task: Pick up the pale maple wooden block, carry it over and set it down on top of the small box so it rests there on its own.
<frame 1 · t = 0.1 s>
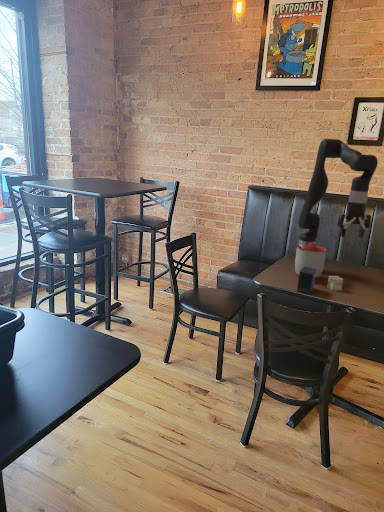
hand: (351, 237, 163), 29 cm above the table, fingers open, 8 cm apart
citrus juicer: (306, 277, 197), on the table
small box: (305, 290, 177), on the table
maple block: (334, 288, 181), on the table
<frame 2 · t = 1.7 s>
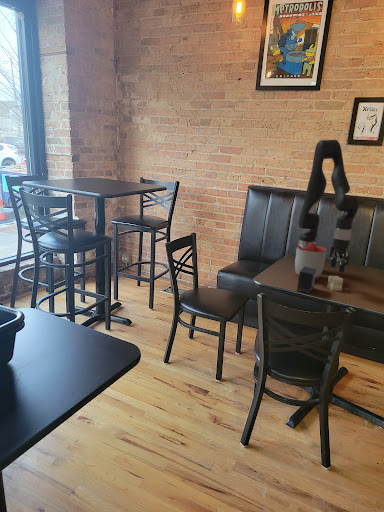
hand: (337, 269, 178), 10 cm above the table, fingers open, 8 cm apart
nothing on the table moved.
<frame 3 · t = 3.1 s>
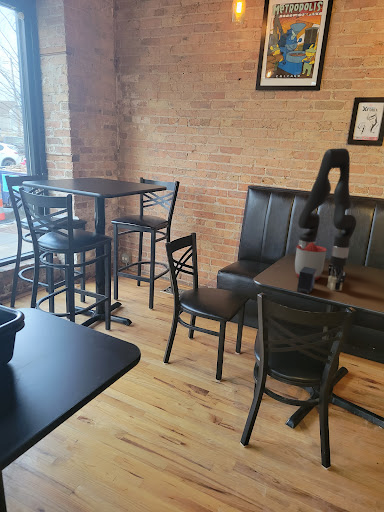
hand: (334, 287, 181), 1 cm above the table, fingers closed on maple block, 5 cm apart
maple block: (334, 288, 181), on the table, touching gripper
everything else where it was.
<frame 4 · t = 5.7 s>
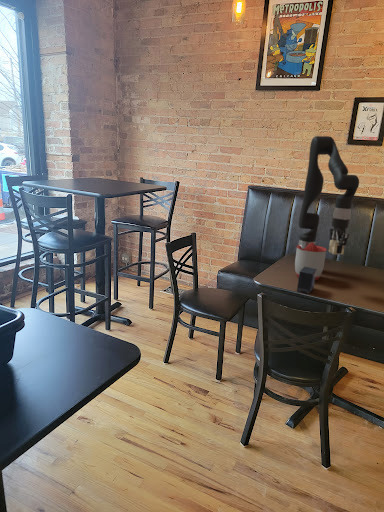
hand: (335, 251, 175), 19 cm above the table, fingers closed on maple block, 5 cm apart
maple block: (335, 253, 175), point 19 cm above the table, touching gripper
everything else where it was.
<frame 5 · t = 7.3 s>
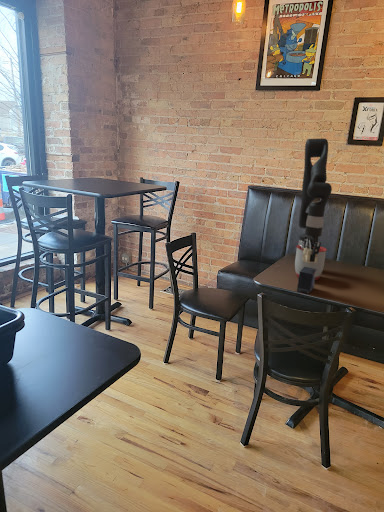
hand: (309, 259, 173), 15 cm above the table, fingers closed on maple block, 5 cm apart
maple block: (309, 261, 173), point 15 cm above the table, touching gripper
everything else where it was.
when the fingers open (12 cm above the table, at t = 8.3 s): maple block stays where it is, resting on small box.
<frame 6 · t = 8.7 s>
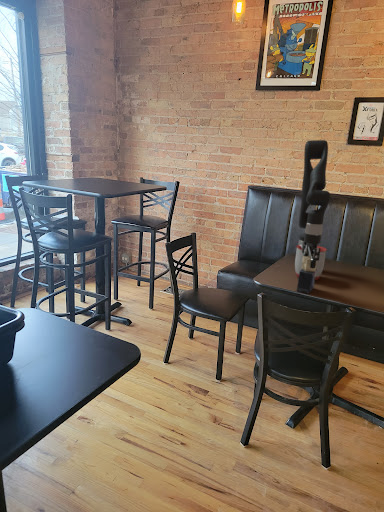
hand: (308, 265, 174), 13 cm above the table, fingers open, 8 cm apart
small box: (305, 290, 177), on the table, touching maple block
maple block: (308, 269, 174), point 10 cm above the table, touching small box
everything else where it was.
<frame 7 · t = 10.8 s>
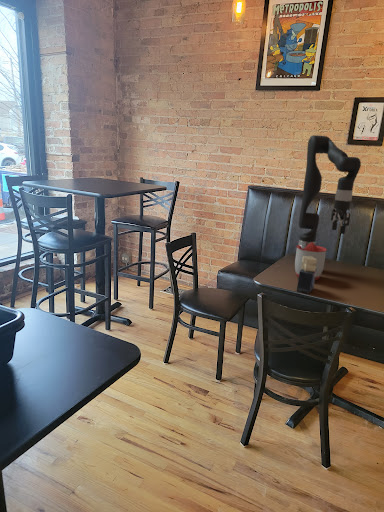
hand: (337, 231, 179), 28 cm above the table, fingers open, 8 cm apart
nothing on the table moved.
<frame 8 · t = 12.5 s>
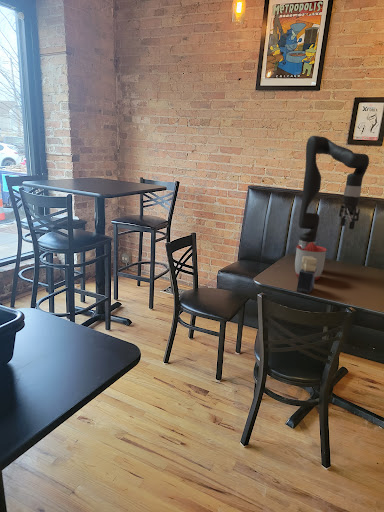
hand: (346, 227, 181), 30 cm above the table, fingers open, 8 cm apart
nothing on the table moved.
at the end: maple block 0.0 cm off-centre on the small box, point 10.7 cm above the small box's base; maple block tilted 0°; the gripper is holding nothing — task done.
